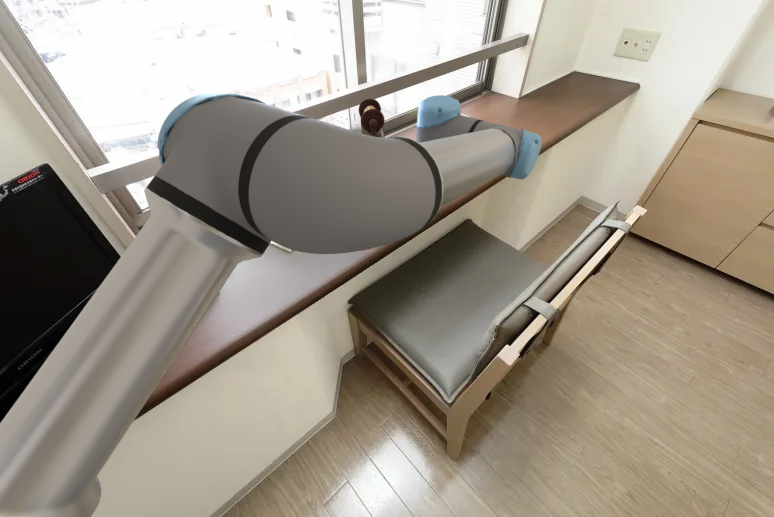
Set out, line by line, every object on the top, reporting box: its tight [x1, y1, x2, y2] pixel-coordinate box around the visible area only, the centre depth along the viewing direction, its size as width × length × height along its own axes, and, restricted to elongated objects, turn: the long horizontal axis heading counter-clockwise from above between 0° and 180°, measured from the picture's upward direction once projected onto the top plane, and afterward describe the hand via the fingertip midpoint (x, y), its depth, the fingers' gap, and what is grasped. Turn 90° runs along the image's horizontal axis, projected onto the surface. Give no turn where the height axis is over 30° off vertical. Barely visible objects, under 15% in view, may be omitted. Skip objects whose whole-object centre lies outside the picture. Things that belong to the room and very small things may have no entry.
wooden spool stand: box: [358, 97, 386, 138], centre depth 88 cm, size 15×15×20 cm
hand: (285, 182), depth 71 cm, fingers open, 13 cm apart
